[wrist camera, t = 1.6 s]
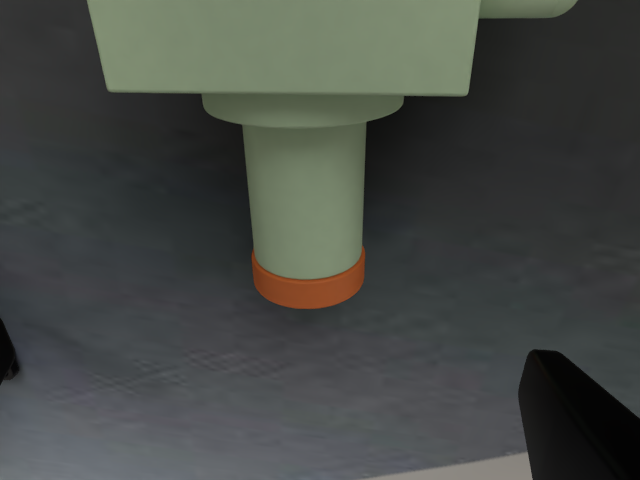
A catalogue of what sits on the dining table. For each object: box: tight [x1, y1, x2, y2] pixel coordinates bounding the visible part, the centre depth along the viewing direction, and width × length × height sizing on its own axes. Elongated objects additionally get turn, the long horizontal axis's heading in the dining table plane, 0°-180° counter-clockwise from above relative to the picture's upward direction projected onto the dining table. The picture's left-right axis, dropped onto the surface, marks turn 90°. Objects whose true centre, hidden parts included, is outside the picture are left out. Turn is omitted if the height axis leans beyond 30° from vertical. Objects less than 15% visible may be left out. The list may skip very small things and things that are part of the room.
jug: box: [87, 0, 578, 309], centre depth 11 cm, size 6×10×15 cm
